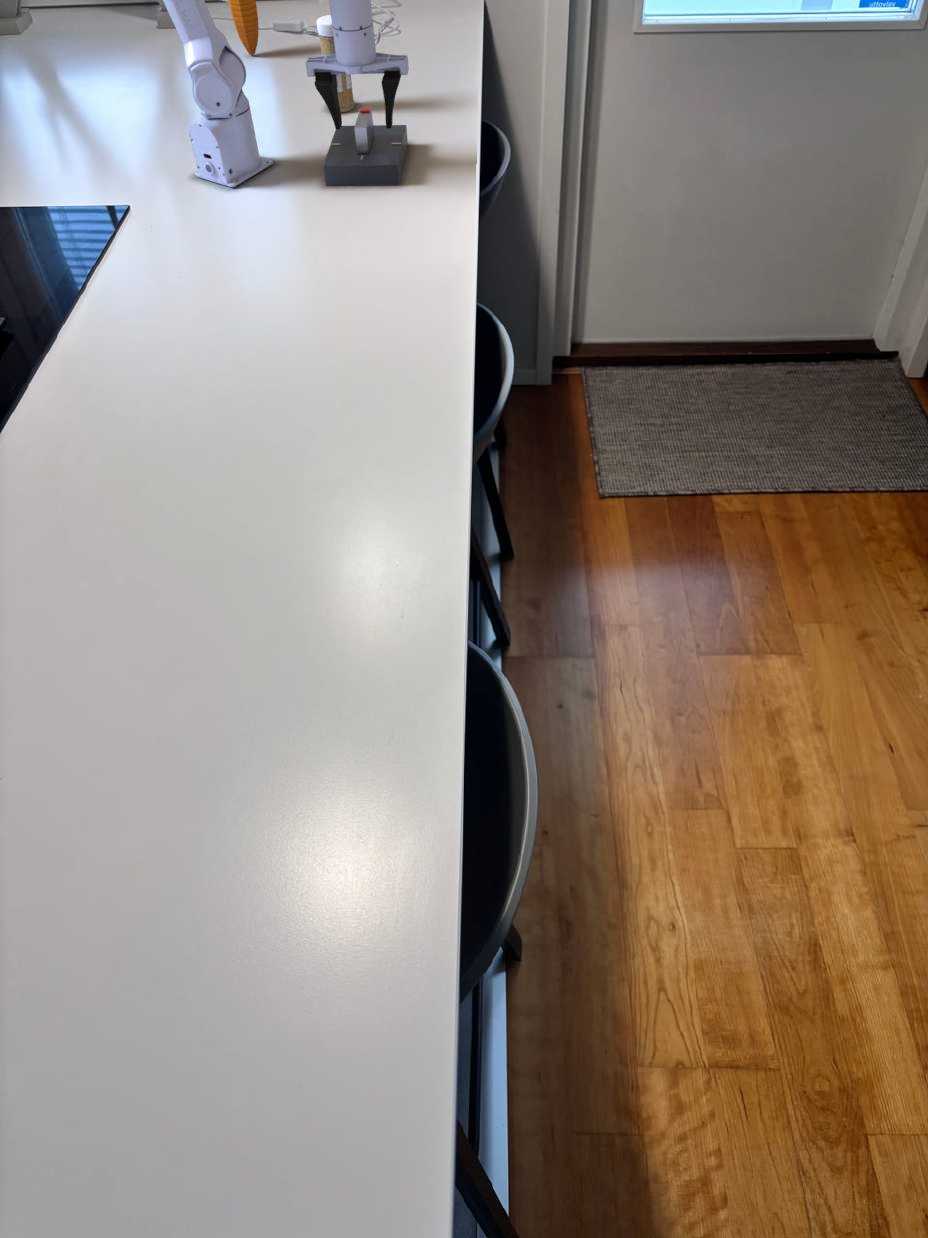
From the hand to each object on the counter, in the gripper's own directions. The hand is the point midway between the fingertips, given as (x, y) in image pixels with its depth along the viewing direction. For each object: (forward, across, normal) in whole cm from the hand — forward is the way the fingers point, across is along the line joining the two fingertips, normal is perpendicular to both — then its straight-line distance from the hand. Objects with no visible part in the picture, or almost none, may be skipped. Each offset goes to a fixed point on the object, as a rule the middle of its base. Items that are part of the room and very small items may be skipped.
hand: (364, 125), depth 142 cm
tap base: (+6, 0, 0) cm, 6 cm away
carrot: (+6, -28, +46) cm, 54 cm away
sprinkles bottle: (+6, -7, +22) cm, 23 cm away
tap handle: (+3, 0, 0) cm, 3 cm away
